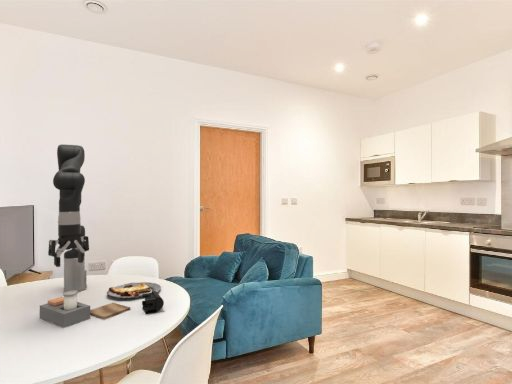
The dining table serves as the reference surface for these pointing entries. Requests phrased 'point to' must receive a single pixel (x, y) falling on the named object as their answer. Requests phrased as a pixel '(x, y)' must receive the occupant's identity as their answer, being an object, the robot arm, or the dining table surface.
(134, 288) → the food plate
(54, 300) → the orange cube
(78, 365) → the dining table surface
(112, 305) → the walnut board
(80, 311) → the grey hollow block
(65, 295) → the cylinder
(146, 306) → the end cap
